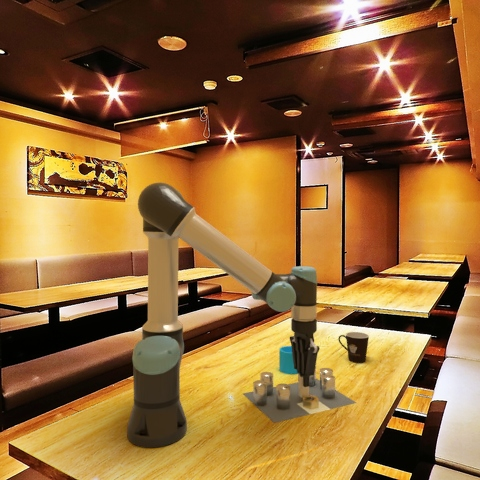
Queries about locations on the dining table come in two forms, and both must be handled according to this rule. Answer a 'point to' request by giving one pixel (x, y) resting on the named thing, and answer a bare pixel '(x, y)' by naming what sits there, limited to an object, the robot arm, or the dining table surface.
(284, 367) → the mug
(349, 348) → the coffee mug
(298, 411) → the mat
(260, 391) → the spacers
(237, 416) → the dining table surface
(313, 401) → the nut
